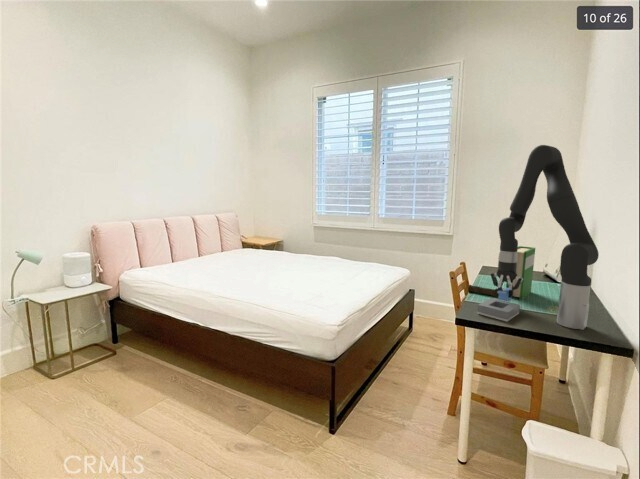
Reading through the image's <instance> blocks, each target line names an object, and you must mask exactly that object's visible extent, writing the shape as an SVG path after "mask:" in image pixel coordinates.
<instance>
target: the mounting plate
mask: <svg viewBox="0 0 640 479" xmlns="http://www.w3.org/2000/svg"><path fill="white" fill-rule="evenodd" d="M520 306H521V304H518V303H514V302H509V301H503V300H499V299H498V298H493V297H491V298H490V297H489V298H488V299H486V300H484V301H483V302H481V303H478V305H477V312H476V313H477V314H478V315H482V316H486V317H488V318H492V319H497V320H498V321H499V320H500V321H504V322H509V321H510V320H512V319H513V318H515V317H516V316H518V315H519V314H520V309H521V308H520Z"/></svg>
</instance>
